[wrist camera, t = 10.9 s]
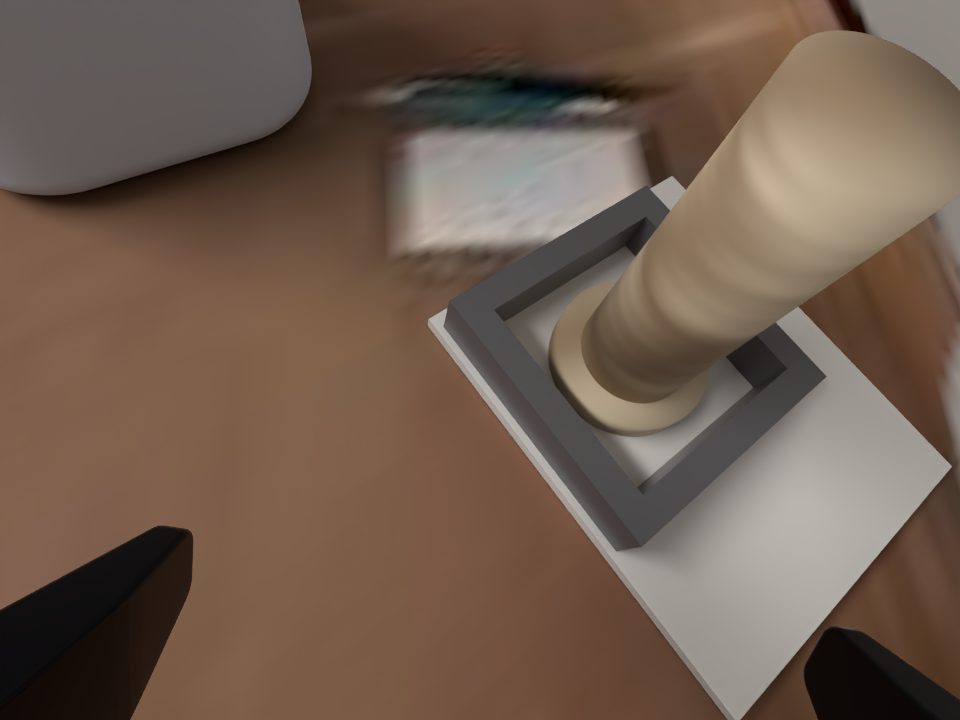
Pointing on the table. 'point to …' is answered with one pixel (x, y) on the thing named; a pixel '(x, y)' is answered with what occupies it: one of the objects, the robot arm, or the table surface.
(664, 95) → the table surface
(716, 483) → the collar board
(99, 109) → the plastic bottle
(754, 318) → the peg
